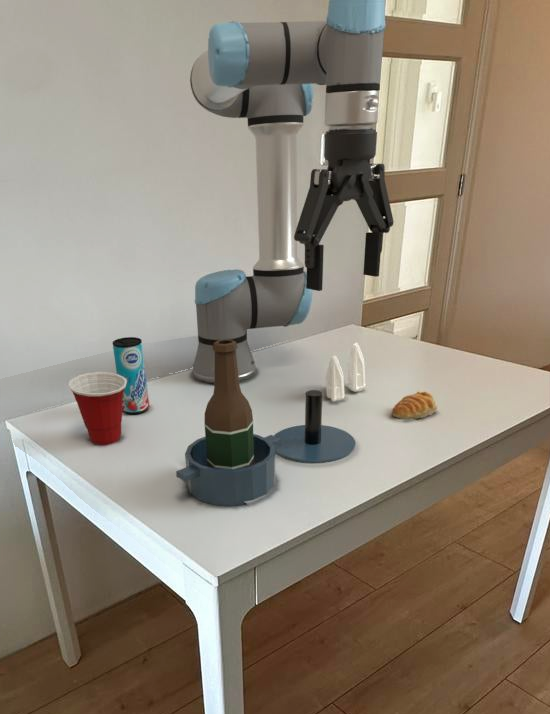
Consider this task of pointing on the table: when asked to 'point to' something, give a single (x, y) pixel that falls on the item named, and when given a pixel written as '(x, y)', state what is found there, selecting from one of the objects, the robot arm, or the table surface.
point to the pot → (230, 474)
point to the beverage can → (132, 374)
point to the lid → (314, 437)
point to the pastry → (415, 406)
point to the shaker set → (354, 374)
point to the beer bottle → (228, 414)
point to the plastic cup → (100, 404)
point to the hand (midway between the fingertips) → (343, 282)
